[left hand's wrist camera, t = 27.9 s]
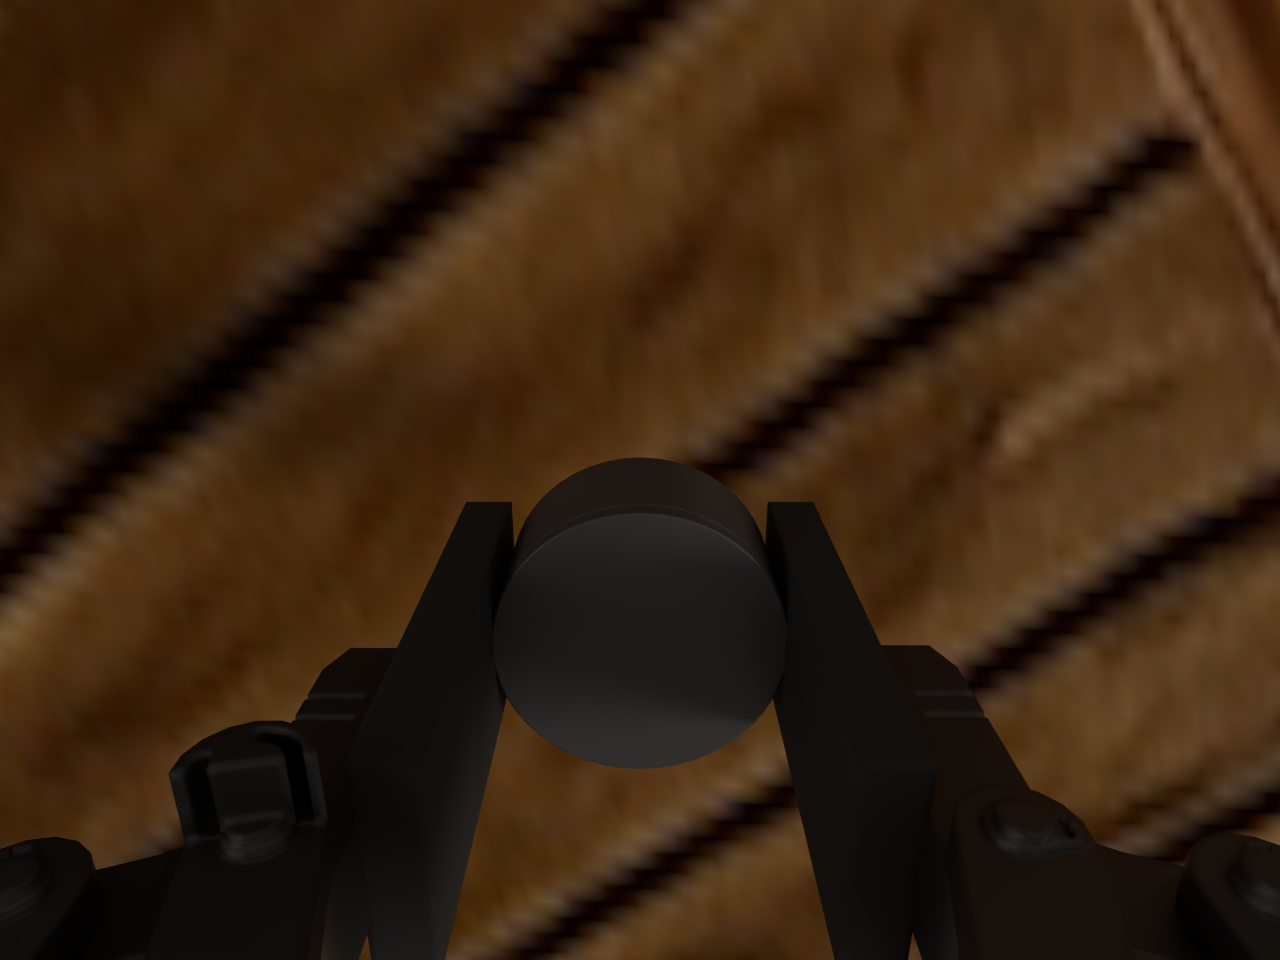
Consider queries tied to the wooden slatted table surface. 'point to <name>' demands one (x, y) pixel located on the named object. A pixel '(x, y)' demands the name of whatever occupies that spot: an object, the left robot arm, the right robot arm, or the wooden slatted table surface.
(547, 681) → the cap
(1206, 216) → the wooden slatted table surface
